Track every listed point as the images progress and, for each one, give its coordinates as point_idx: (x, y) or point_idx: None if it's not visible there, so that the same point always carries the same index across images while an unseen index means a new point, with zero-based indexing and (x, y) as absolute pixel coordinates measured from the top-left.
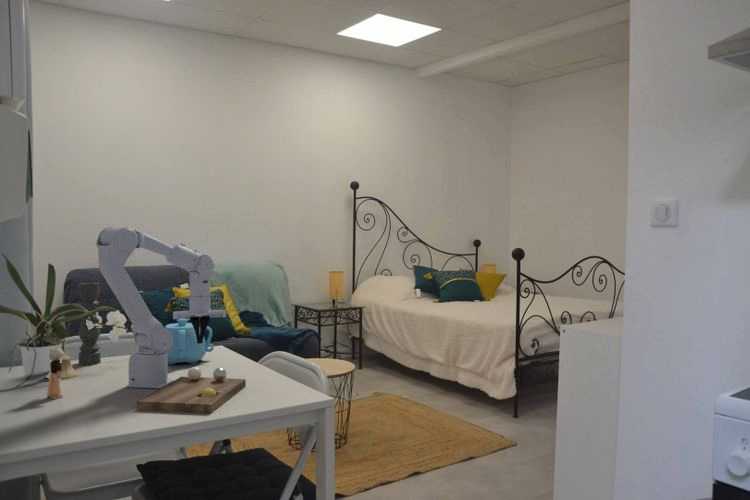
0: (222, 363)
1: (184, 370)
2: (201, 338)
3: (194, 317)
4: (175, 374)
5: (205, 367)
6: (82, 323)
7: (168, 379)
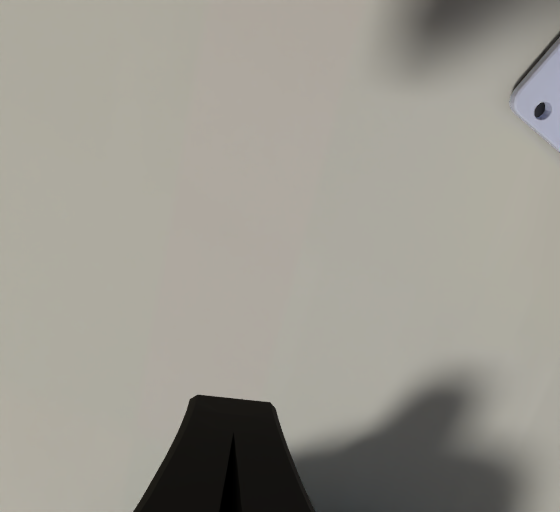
0: (17, 504)
1: (311, 419)
2: (204, 449)
3: None
4: (404, 336)
5: (152, 445)
6: None
7: (548, 128)
